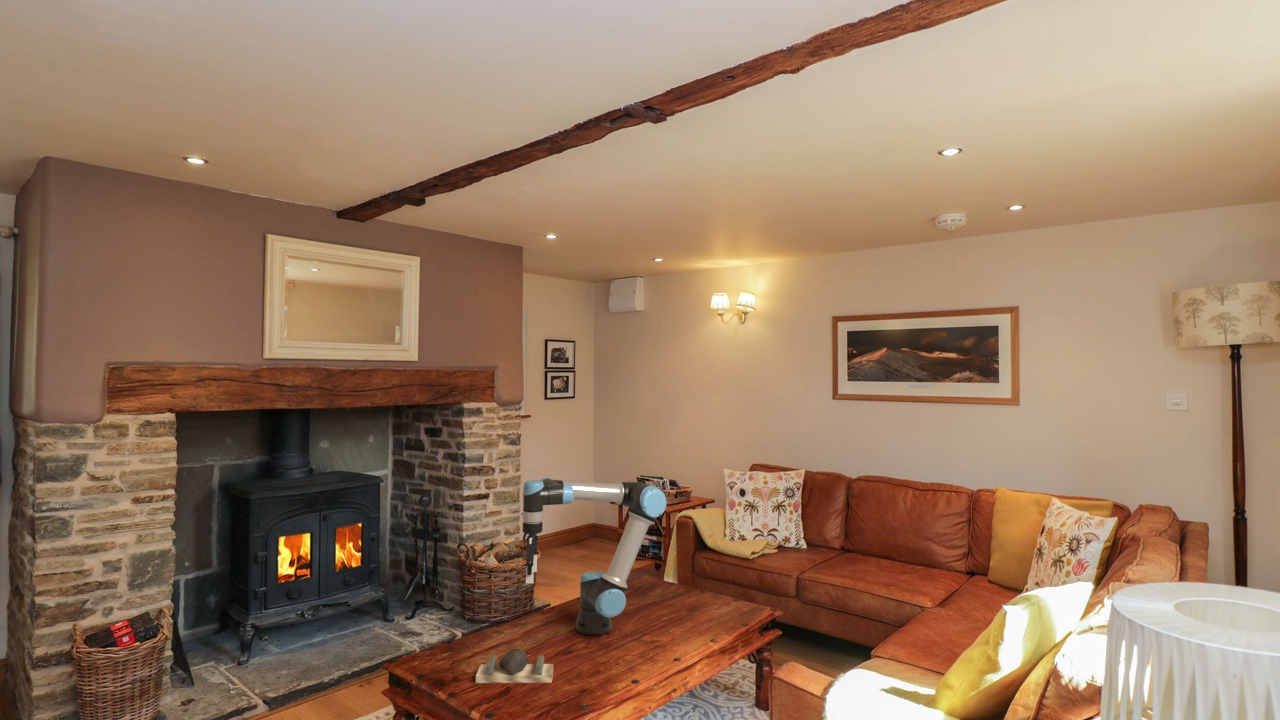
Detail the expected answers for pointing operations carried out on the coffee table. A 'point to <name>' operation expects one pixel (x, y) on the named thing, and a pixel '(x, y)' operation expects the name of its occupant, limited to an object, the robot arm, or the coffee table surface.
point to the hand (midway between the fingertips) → (531, 577)
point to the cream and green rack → (527, 675)
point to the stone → (514, 661)
